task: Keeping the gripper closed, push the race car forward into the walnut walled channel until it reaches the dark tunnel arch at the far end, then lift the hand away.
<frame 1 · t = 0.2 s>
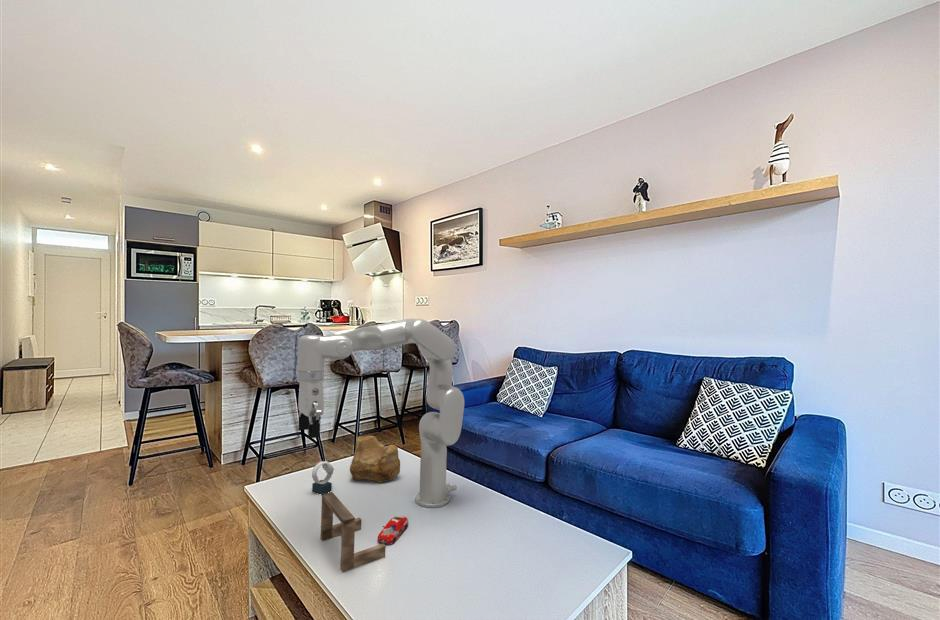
hand: (308, 433, 120), 31 cm above the table, tool pointing down, fingers open, 9 cm apart
rough brown rock: (369, 477, 165), on the table
watch: (321, 491, 151), on the table
race car: (393, 535, 122), on the table
walnut tunnel: (351, 547, 115), on the table
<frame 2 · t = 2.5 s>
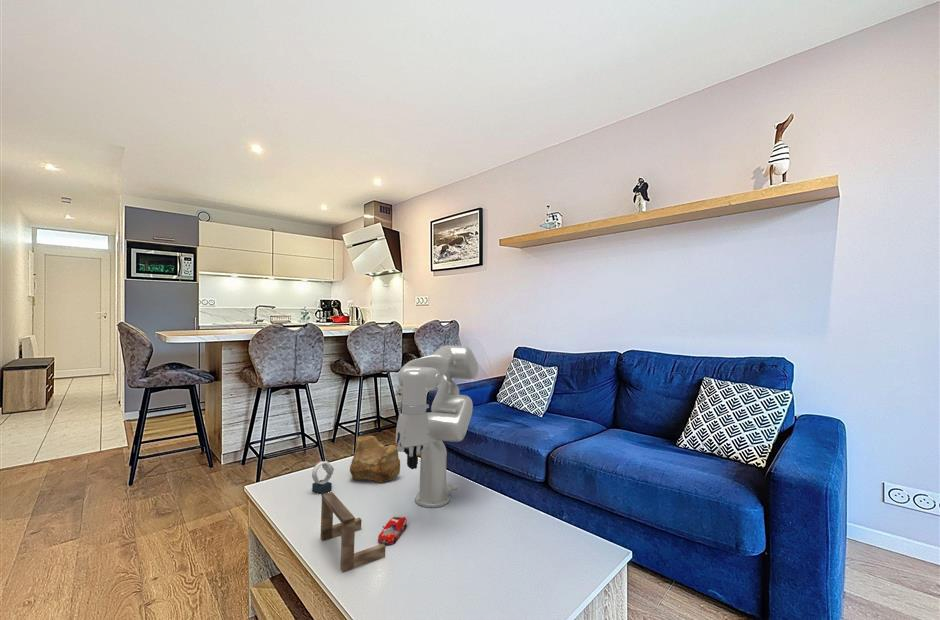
hand: (412, 467, 126), 19 cm above the table, tool pointing down, fingers closed
nothing on the table moved.
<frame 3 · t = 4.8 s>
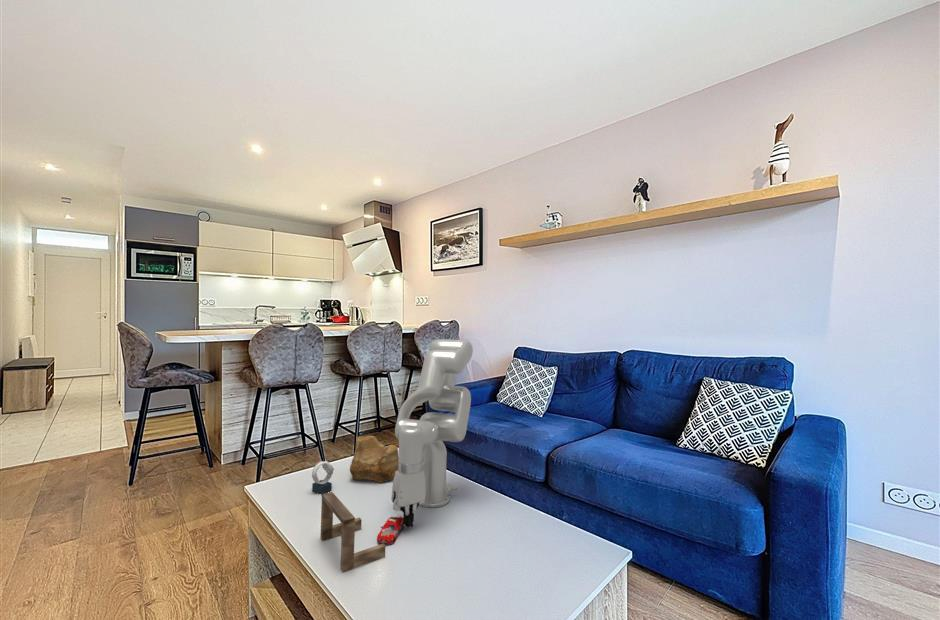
hand: (408, 525, 125), 1 cm above the table, tool pointing down, fingers closed
race car: (390, 535, 122), on the table, touching gripper
everything else where it was.
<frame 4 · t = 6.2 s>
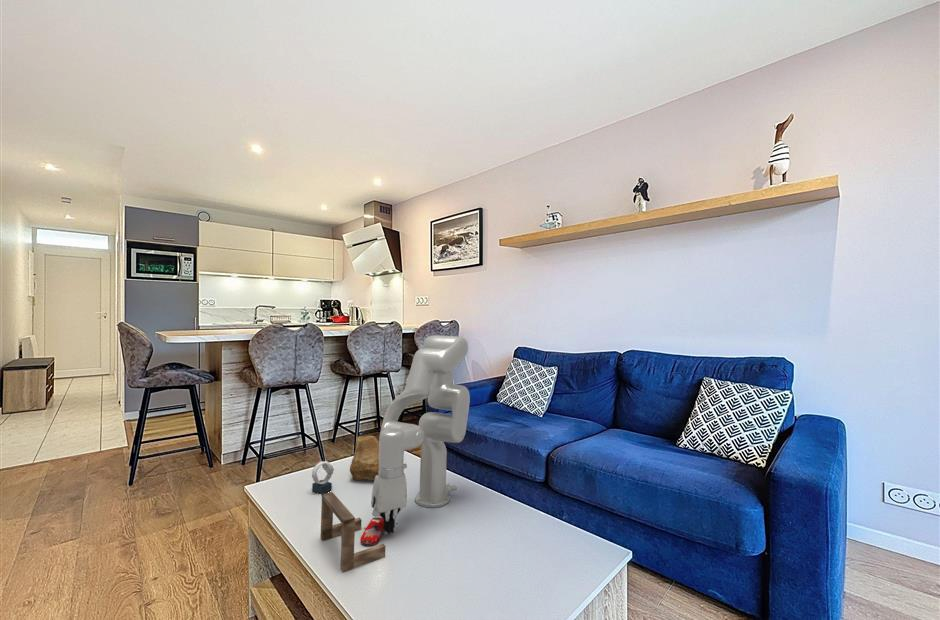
hand: (388, 531, 121), 1 cm above the table, tool pointing down, fingers closed
race car: (374, 536, 122), on the table
everything else where it was.
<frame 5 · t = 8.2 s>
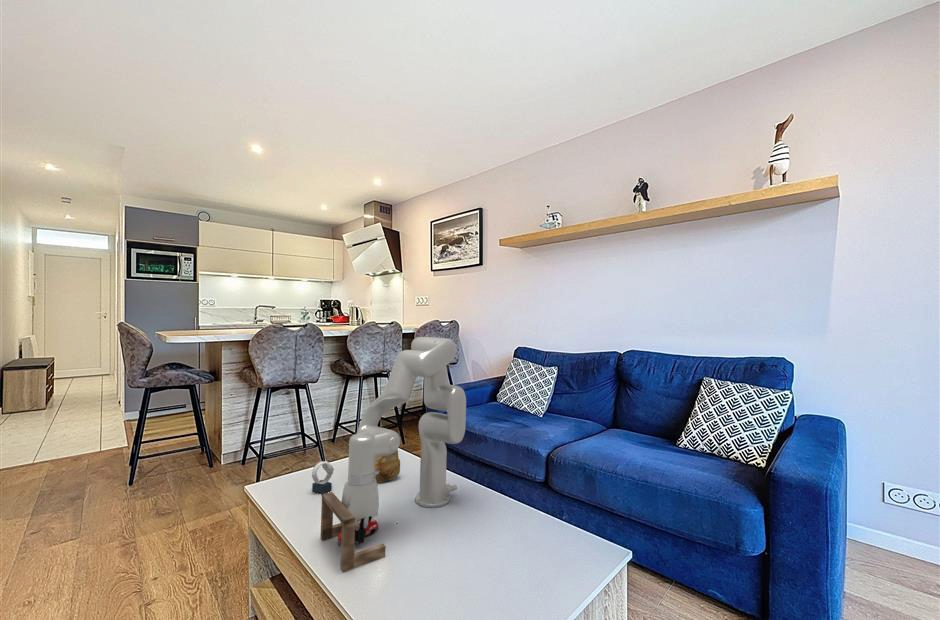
hand: (359, 541, 116), 1 cm above the table, tool pointing down, fingers closed
race car: (357, 537, 121), on the table, touching gripper
everything else where it was.
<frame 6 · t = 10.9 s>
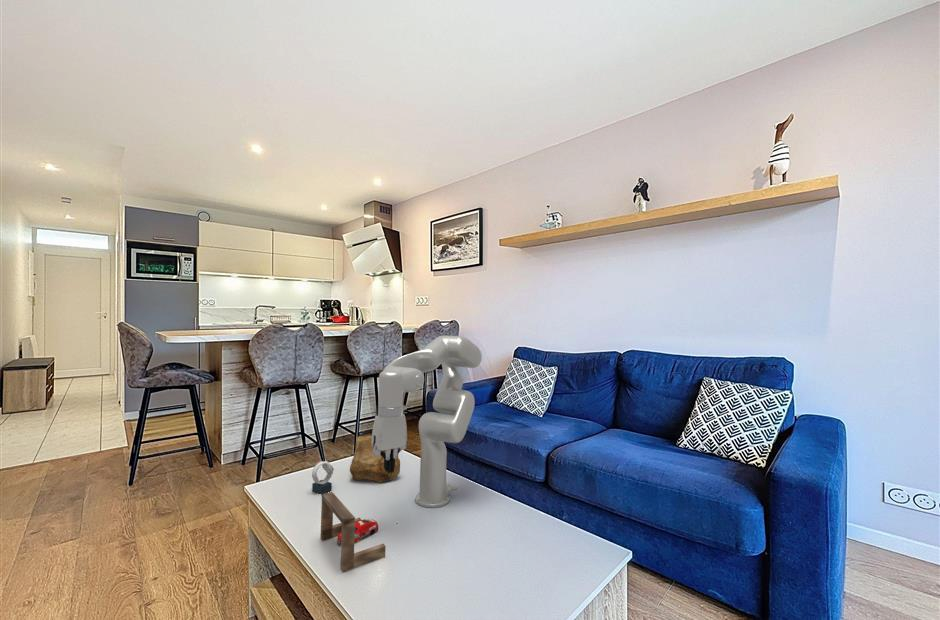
hand: (389, 471, 122), 19 cm above the table, tool pointing down, fingers closed
race car: (357, 538, 121), on the table
everything else where it was.
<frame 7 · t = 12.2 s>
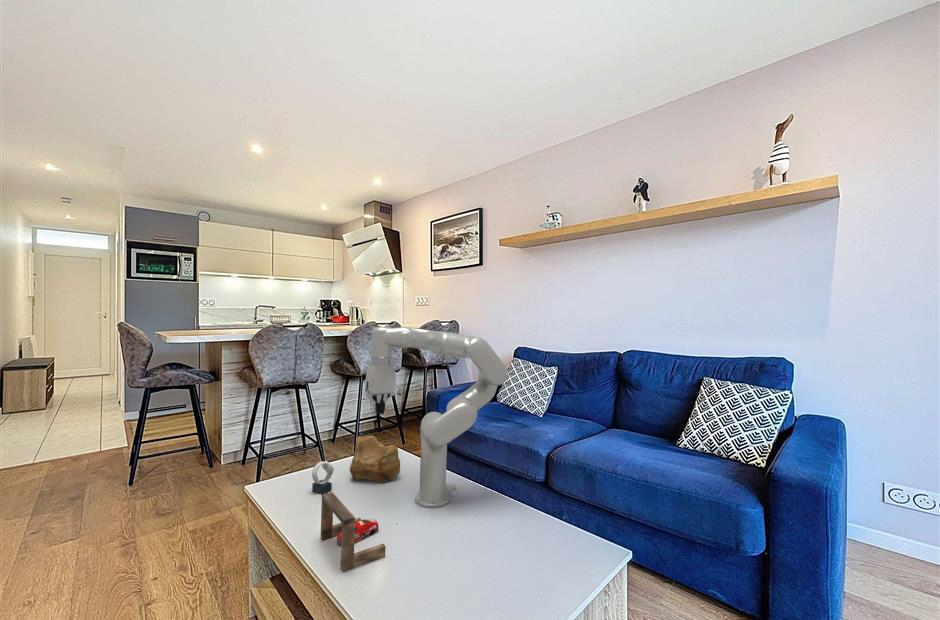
hand: (380, 413, 142), 32 cm above the table, tool pointing down, fingers closed
nothing on the table moved.
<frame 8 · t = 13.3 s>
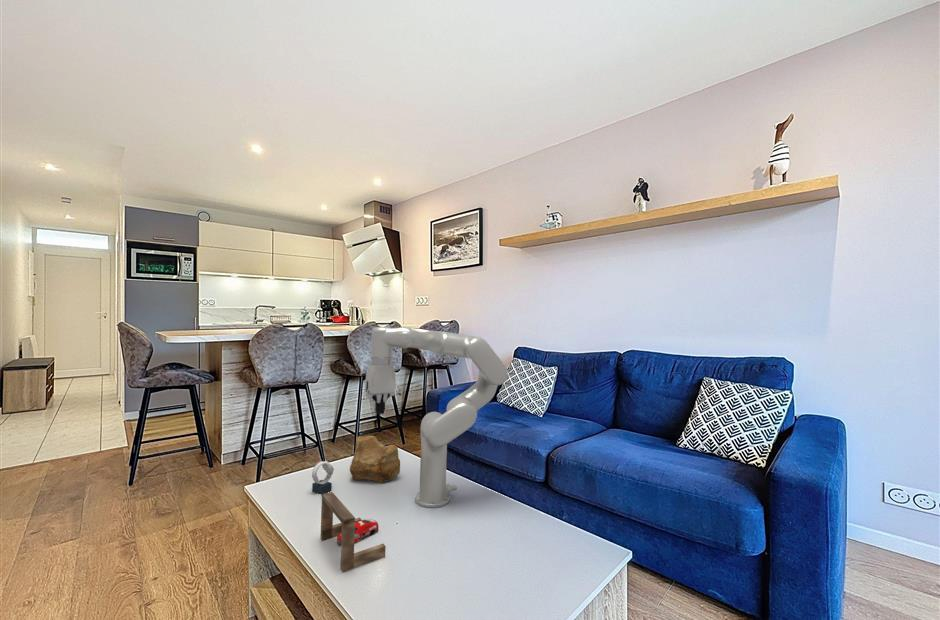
hand: (379, 413, 142), 32 cm above the table, tool pointing down, fingers closed
nothing on the table moved.
at the end: race car inside the target area (7.2 cm from its centre), on the table; race car tilted 0° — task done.
